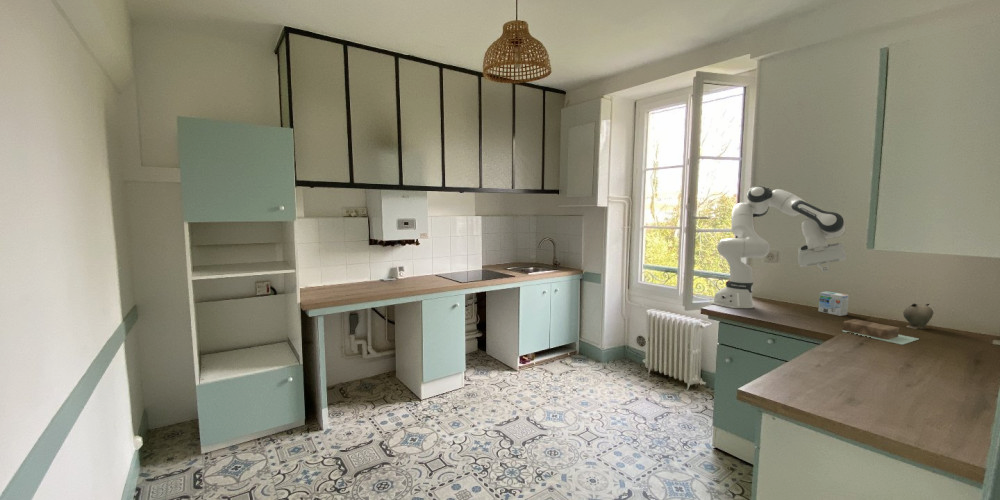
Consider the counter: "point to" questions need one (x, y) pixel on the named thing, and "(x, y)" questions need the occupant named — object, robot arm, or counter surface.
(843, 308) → the light bulb box
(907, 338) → the sage board
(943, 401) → the counter surface
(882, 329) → the walnut domino
